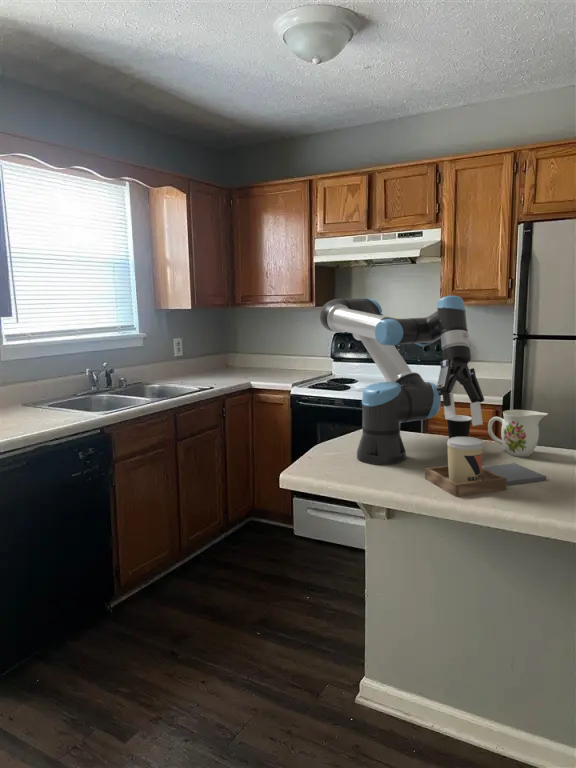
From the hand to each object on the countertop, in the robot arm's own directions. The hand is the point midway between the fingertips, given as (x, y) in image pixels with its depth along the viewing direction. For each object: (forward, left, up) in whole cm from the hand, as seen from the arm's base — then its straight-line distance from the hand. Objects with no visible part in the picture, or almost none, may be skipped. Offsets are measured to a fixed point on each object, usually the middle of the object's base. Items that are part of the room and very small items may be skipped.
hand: (464, 422), depth 151 cm
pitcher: (-16, +29, -16) cm, 37 cm away
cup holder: (+4, -3, -16) cm, 17 cm away
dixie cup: (-25, +14, -16) cm, 33 cm away
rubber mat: (+2, +13, -16) cm, 21 cm away
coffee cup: (+4, -3, -16) cm, 17 cm away
